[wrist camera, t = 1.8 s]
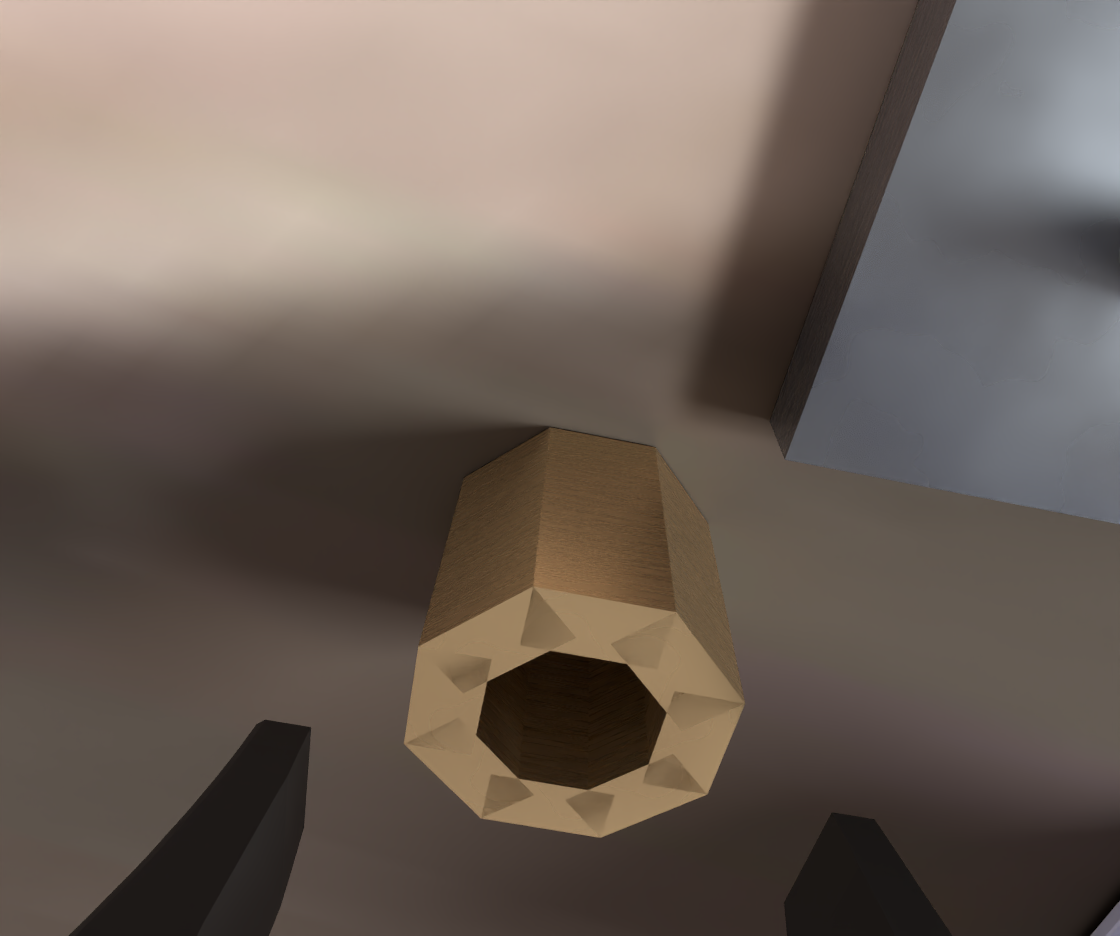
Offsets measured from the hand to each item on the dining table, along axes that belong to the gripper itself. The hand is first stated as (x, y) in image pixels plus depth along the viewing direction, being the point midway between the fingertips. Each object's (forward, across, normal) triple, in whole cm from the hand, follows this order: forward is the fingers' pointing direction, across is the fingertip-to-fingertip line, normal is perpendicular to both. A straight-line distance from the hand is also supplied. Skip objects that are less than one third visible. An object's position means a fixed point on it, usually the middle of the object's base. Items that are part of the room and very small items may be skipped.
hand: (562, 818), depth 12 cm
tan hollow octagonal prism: (+7, 0, 0) cm, 7 cm away
